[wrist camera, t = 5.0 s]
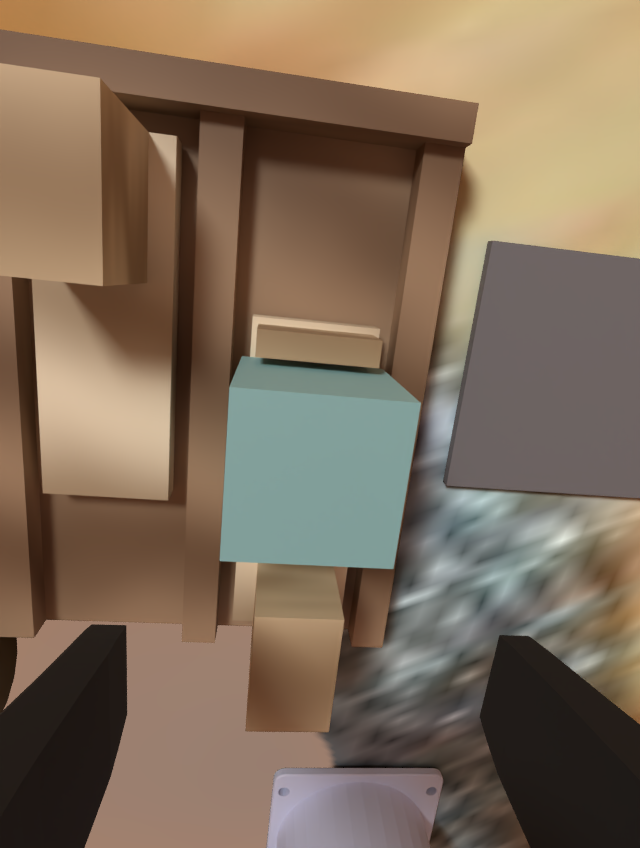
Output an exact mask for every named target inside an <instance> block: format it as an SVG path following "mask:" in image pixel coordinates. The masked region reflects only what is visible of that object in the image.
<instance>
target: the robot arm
mask: <svg viewBox="0 0 640 848" xmlns="http://www.w3.org/2000/svg"><path fill="white" fill-rule="evenodd" d="M126 659H127V655H126V626H125V625H91V626H89V627H88V628H87V629H86V630H85V631H84V632H83V633H82V634H81V635H80V636H79V637H78V638H77V639H76V640H75V641H74V642H73V643H72V644H71V645H70V646H69V647H68V648H67V649H66V650H65V651H64V652H63V653H62V654H61V655H60V656H59V657H58V658H57V659H56V660H55V661H54V662H53V663H52V664H51V665H50V666H49V667H48V668H47V669H46V670H45V671H44V672H43V673H42V674H41V675H40V676H39V677H38V678H37V679H36V680H35V681H34V682H33V683H32V684H31V685H30V686H29V687H28V688H26V689H25V690H24V691H23V692H22V693H21V694H20V695H19V696H18V697H17V698H16V699H15V700H14V701H13V702H12V703H11V704H10V705H9V706H7V707H6V709H4V710H3V711H2V712H1V713H0V848H84V847H85V844H86V842H87V839H88V836H89V834H90V831H91V828H92V825H93V823H94V820H95V818H96V815H97V812H98V809H99V807H100V804H101V801H102V798H103V796H104V793H105V790H106V788H107V785H108V782H109V779H110V777H111V773H112V770H113V766H114V762H115V758H116V755H117V751H118V747H119V744H120V740H121V736H122V732H123V728H124V724H125V720H126V716H127V660H126ZM480 719H481V722H482V726H483V729H484V732H485V736H486V739H487V742H488V745H489V749H490V752H491V755H492V758H493V761H494V764H495V767H496V770H497V773H498V775H499V777H500V780H501V782H502V784H503V787H504V789H505V791H506V794H507V796H508V798H509V800H510V803H511V805H512V807H513V809H514V812H515V814H516V816H517V819H518V821H519V823H520V825H521V828H522V830H523V832H524V834H525V836H526V839H527V841H528V843H529V845H530V848H640V724H638V723H637V722H636V721H635V720H633V719H632V718H631V717H630V716H628V715H627V714H626V713H625V712H623V711H622V710H621V709H620V708H618V707H617V706H616V705H615V704H613V703H612V702H611V701H610V700H608V699H607V698H606V697H605V696H603V695H602V694H601V693H600V692H598V691H597V690H596V689H595V688H594V687H592V686H591V685H590V684H589V683H587V682H586V681H585V680H584V679H582V678H581V677H580V676H579V675H578V674H576V673H575V672H574V671H573V670H571V669H570V668H569V667H568V666H567V665H565V664H564V663H563V662H562V661H560V660H559V659H558V658H557V657H555V656H554V655H553V654H552V653H550V652H549V651H548V650H547V649H545V648H544V647H543V646H541V645H540V644H539V643H537V642H536V641H535V640H533V639H532V638H531V637H529V636H507V635H500V636H499V640H498V644H497V648H496V652H495V656H494V660H493V664H492V668H491V672H490V677H489V681H488V685H487V689H486V693H485V697H484V701H483V705H482V709H481V713H480ZM442 785H443V778H442V775H441V772H440V771H439V770H438V769H435V768H282V769H280V770H278V771H277V772H276V773H275V775H274V781H273V789H272V799H271V808H270V809H271V810H270V818H269V828H268V837H267V847H266V848H431V847H430V843H429V842H430V837H431V833H432V829H433V824H434V820H435V815H436V811H437V807H438V802H439V798H440V793H441V789H442Z"/></svg>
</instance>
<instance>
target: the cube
mask: <svg viewBox="0 0 640 848" xmlns="http://www.w3.org/2000/svg"><path fill="white" fill-rule="evenodd" d="M420 406H421V403H420V402H419V401H418V400H417V399H416V398H415V397H414V396H412V395H411V394H410V393H409V392H408V391H407V390H406V389H405V388H403V387H402V386H401V385H400V384H399V383H398V382H397V381H396V380H394V379H393V378H392V377H391V376H390V375H389V374H388V373H387V372H385V371H384V370H383V369H378V368H367V367H356V366H345V365H334V364H323V363H312V362H301V361H290V360H279V359H268V358H257V357H246V356H242V357H241V360H240V362H239V365H238V367H237V370H236V372H235V374H234V377H233V379H232V382H231V384H230V387H229V403H228V421H227V439H226V456H225V474H224V492H223V509H222V527H221V545H220V561H228V562H249V563H271V564H293V565H315V566H337V567H359V568H380V569H394V563H395V557H396V551H397V545H398V539H399V533H400V527H401V521H402V515H403V509H404V503H405V497H406V491H407V485H408V479H409V473H410V467H411V461H412V455H413V449H414V443H415V437H416V431H417V425H418V419H419V412H420Z"/></svg>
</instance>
